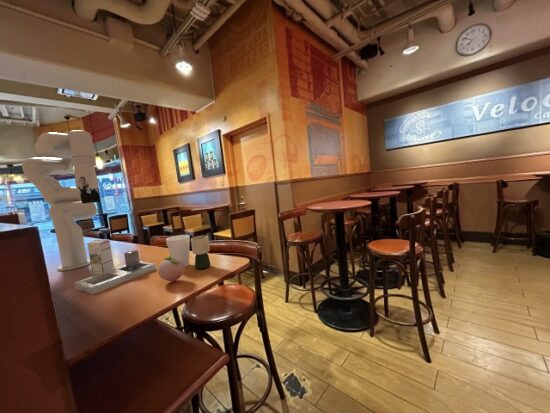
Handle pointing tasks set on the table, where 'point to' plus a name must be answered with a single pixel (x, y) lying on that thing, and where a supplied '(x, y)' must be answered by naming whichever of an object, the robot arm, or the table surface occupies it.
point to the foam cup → (179, 248)
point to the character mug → (201, 251)
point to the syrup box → (100, 256)
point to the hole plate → (116, 274)
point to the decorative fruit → (171, 269)
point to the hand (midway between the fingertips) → (91, 202)
